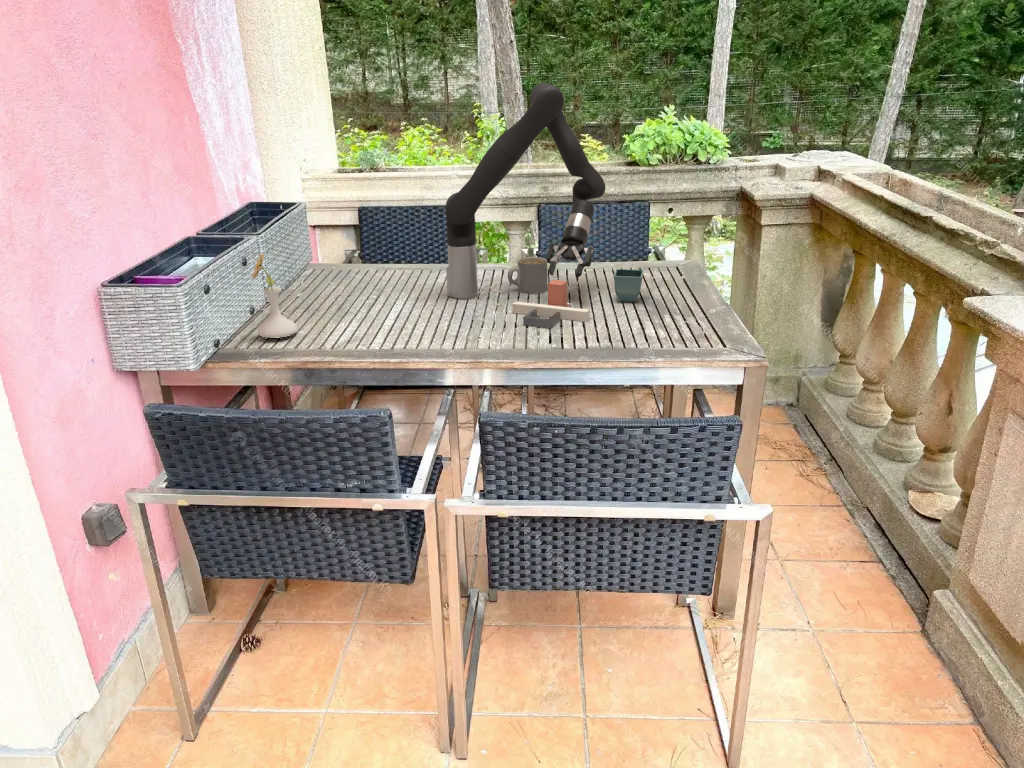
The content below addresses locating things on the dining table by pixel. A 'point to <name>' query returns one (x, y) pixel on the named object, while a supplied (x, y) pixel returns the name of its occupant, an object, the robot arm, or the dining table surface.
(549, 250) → the robot arm
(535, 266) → the coffee mug
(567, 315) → the strip
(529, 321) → the keeper bracket
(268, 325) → the flower in vase
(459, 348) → the dining table surface
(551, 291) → the block
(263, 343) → the dining table surface
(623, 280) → the flower pot
